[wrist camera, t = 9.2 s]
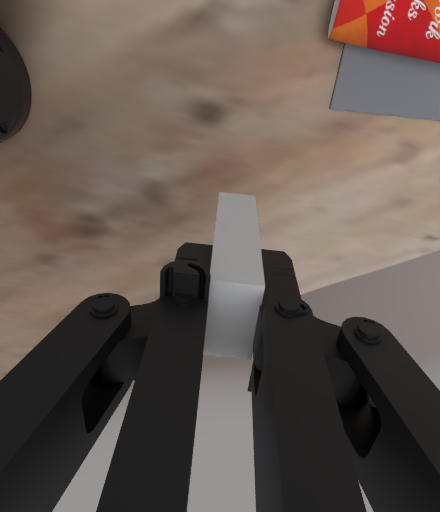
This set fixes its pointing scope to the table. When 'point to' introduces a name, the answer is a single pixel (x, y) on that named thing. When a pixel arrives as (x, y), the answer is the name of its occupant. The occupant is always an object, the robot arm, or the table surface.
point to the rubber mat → (386, 84)
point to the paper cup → (389, 26)
